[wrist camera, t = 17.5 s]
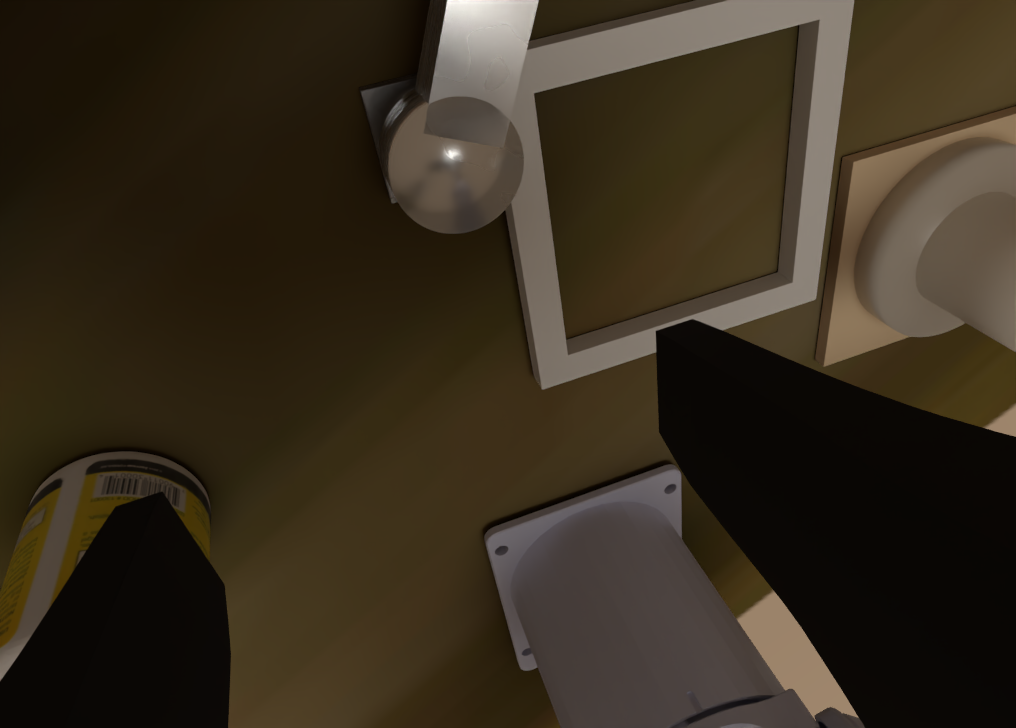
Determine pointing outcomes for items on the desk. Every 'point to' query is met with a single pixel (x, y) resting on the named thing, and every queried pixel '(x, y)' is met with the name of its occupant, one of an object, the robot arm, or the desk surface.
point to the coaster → (856, 204)
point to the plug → (946, 245)
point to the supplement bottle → (84, 530)
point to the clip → (460, 117)
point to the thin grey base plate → (384, 107)
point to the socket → (814, 123)
